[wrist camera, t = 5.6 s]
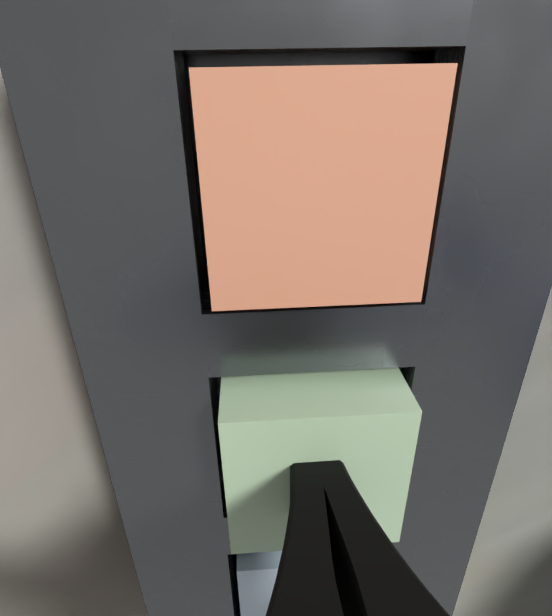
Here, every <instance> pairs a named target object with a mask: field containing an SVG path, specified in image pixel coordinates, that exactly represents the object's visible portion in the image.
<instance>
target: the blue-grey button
mask: <svg viewBox="0 0 552 616" xmlns="http://www.w3.org/2000/svg"><path fill="white" fill-rule="evenodd" d="M281 554H282V551H271V552H257V553H244V554H237V581H238V592H239V602H240V613H241V616H266V612H267V609H268V606H269V602H270V599H271V595H272V591H273V588H274V584H275V580H276V576H277V572H278V567H279V563H280V558H281Z"/></svg>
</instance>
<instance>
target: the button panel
mask: <svg viewBox="0 0 552 616" xmlns="http://www.w3.org/2000/svg"><path fill="white" fill-rule="evenodd" d="M433 63H458V65H457V71H456V78H455V84H454V91H453V97H452V104H451V110H450V117H449V123H448V130H447V136H446V143H445V150H444V156H443V163H442V169H441V176H440V182H439V189H438V195H437V202H436V208H435V215H434V221H433V228H432V234H431V241H430V248H429V254H428V261H427V267H426V274H425V280H424V287H423V293H422V300H421V302H406V303H384V304H362V305H340V306H318V307H296V308H273V309H251V310H229V311H212V308H211V297H210V287H209V276H208V266H207V255H206V245H205V234H204V224H203V213H202V203H201V192H200V182H199V171H198V161H197V150H196V140H195V129H194V119H193V108H192V98H191V87H190V77H189V68H191V67H252V66H312V65H373V64H433ZM0 68H1V72H2V76H3V79H4V83H5V87H6V90H7V94H8V98H9V102H10V105H11V109H12V113H13V116H14V120H15V124H16V128H17V131H18V135H19V139H20V142H21V146H22V150H23V154H24V157H25V161H26V165H27V168H28V172H29V176H30V180H31V183H32V187H33V191H34V194H35V198H36V202H37V206H38V209H39V213H40V217H41V220H42V224H43V228H44V232H45V235H46V239H47V243H48V246H49V250H50V254H51V258H52V261H53V265H54V269H55V272H56V276H57V280H58V284H59V287H60V291H61V295H62V298H63V302H64V306H65V310H66V313H67V317H68V321H69V324H70V328H71V332H72V336H73V339H74V343H75V347H76V350H77V354H78V358H79V362H80V365H81V369H82V373H83V376H84V380H85V384H86V388H87V391H88V395H89V399H90V402H91V406H92V410H93V414H94V417H95V421H96V425H97V428H98V432H99V436H100V440H101V443H102V447H103V451H104V454H105V458H106V462H107V466H108V469H109V473H110V477H111V480H112V484H113V488H114V492H115V495H116V499H117V503H118V506H119V510H120V514H121V518H122V521H123V525H124V529H125V532H126V536H127V540H128V544H129V547H130V551H131V555H132V558H133V562H134V566H135V570H136V573H137V577H138V581H139V584H140V588H141V592H142V596H143V599H144V603H145V607H146V610H147V614H148V616H241V613H240V602H239V592H238V581H237V554H231V548H230V538H229V528H228V518H227V509H226V499H225V489H224V479H223V469H222V459H221V450H220V440H219V430H218V415H219V401H220V388H221V377H229V376H248V375H267V374H286V373H305V372H324V371H343V370H361V369H380V368H399V369H400V371H401V373H402V375H403V377H404V379H405V380H406V382H407V384H408V386H409V388H410V390H411V392H412V393H413V395H414V397H415V399H416V401H417V403H418V404H419V406H420V408H421V410H422V416H421V422H420V428H419V433H418V439H417V445H416V450H415V456H414V461H413V467H412V473H411V478H410V484H409V490H408V495H407V501H406V507H405V512H404V518H403V523H402V529H401V535H400V540H399V542H392V544H393V545H394V546H395V548H396V549H397V551H398V552H399V553H400V555H401V556H402V557H403V559H404V560H405V561H406V563H407V564H408V565H409V567H410V568H411V569H412V571H413V572H414V573H415V574H416V576H417V577H418V578H419V579H420V581H421V582H422V583H423V584H424V586H425V587H426V588H427V589H428V590H429V592H430V593H431V594H432V595H433V596H434V598H435V599H436V600H437V601H438V602H439V604H440V605H441V606H442V607H443V608H444V609H445V610H446V612H447V613H448V614H449V615H450V616H452V615H453V611H454V608H455V605H456V601H457V598H458V595H459V591H460V588H461V585H462V581H463V578H464V575H465V571H466V568H467V565H468V562H469V558H470V555H471V552H472V548H473V545H474V542H475V538H476V535H477V532H478V528H479V525H480V522H481V518H482V515H483V512H484V508H485V505H486V502H487V498H488V495H489V492H490V489H491V485H492V482H493V479H494V475H495V472H496V469H497V465H498V462H499V459H500V455H501V452H502V449H503V445H504V442H505V439H506V435H507V432H508V429H509V425H510V422H511V419H512V416H513V412H514V409H515V406H516V402H517V399H518V396H519V392H520V389H521V386H522V382H523V379H524V376H525V372H526V369H527V366H528V362H529V359H530V356H531V352H532V349H533V346H534V343H535V339H536V336H537V333H538V329H539V326H540V323H541V319H542V316H543V313H544V309H545V306H546V303H547V299H548V296H549V293H550V289H551V286H552V0H0ZM270 552H271V551H270ZM256 553H257V552H256ZM243 554H244V553H243Z"/></svg>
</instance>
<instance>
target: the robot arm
mask: <svg viewBox="0 0 552 616" xmlns="http://www.w3.org/2000/svg"><path fill="white" fill-rule="evenodd" d="M266 616H450V615H449V614H448V613H447V612H446V610H445V609H444V608H443V607H442V606H441V605H440V604H439V602H438V601H437V600H436V599H435V598H434V596H433V595H432V594H431V593H430V592H429V590H428V589H427V588H426V587H425V586H424V584H423V583H422V582H421V581H420V579H419V578H418V577H417V576H416V574H415V573H414V572H413V571H412V569H411V568H410V567H409V565H408V564H407V563H406V561H405V560H404V559H403V557H402V556H401V555H400V553H399V552H398V551H397V549H396V548H395V546H394V545H393V544H392V542H391V541H390V539H389V538H388V537H387V535H386V534H385V532H384V531H383V529H382V528H381V526H380V525H379V523H378V522H377V520H376V519H375V517H374V516H373V514H372V513H371V511H370V509H369V508H368V506H367V505H366V503H365V501H364V500H363V498H362V496H361V495H360V493H359V491H358V490H357V488H356V486H355V484H354V483H353V481H352V479H351V477H350V475H349V473H348V471H347V469H346V467H345V465H344V463H343V462H342V461H340V460H332V461H317V462H302V463H293V464H292V465H291V466H290V506H289V514H288V521H287V527H286V534H285V539H284V545H283V549H282V554H281V558H280V563H279V567H278V572H277V576H276V580H275V584H274V588H273V591H272V595H271V599H270V602H269V606H268V609H267V612H266Z"/></svg>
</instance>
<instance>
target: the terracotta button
mask: <svg viewBox="0 0 552 616" xmlns="http://www.w3.org/2000/svg"><path fill="white" fill-rule="evenodd" d="M457 65H458V63H433V64H373V65H312V66H252V67H191V68H189V77H190V87H191V98H192V108H193V119H194V129H195V140H196V150H197V161H198V171H199V182H200V192H201V203H202V213H203V224H204V234H205V245H206V255H207V266H208V276H209V287H210V297H211V308H212V311H229V310H251V309H273V308H296V307H318V306H340V305H362V304H384V303H406V302H421V300H422V293H423V287H424V280H425V274H426V267H427V261H428V254H429V248H430V241H431V234H432V228H433V221H434V215H435V208H436V202H437V195H438V189H439V182H440V176H441V169H442V163H443V156H444V150H445V143H446V136H447V130H448V123H449V117H450V110H451V104H452V97H453V91H454V84H455V78H456V71H457Z"/></svg>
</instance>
